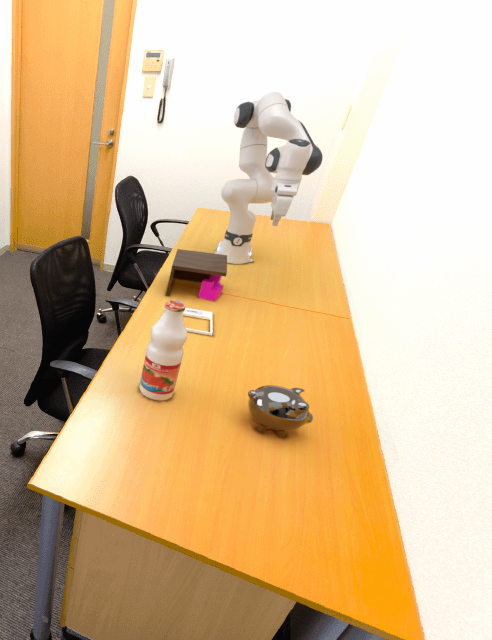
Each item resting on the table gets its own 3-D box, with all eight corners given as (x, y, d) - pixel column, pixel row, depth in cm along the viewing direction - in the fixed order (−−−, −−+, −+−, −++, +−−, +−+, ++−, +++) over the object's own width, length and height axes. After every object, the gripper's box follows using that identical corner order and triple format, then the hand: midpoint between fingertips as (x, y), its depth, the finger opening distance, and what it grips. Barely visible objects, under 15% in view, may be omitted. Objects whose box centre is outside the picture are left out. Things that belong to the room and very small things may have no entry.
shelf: (171, 277, 197) (177, 248, 190) (219, 284, 190) (227, 255, 183) (165, 295, 179) (172, 265, 173) (218, 304, 172) (226, 273, 165)
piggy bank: (308, 449, 103) (326, 412, 97) (239, 432, 108) (252, 396, 102) (300, 420, 112) (317, 385, 106) (237, 406, 117) (249, 371, 111)
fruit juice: (178, 391, 123) (202, 304, 109) (162, 406, 117) (184, 315, 103) (149, 377, 129) (167, 293, 114) (132, 390, 123) (149, 303, 109)
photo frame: (212, 311, 164) (212, 332, 149) (211, 314, 164) (211, 335, 150) (172, 305, 169) (168, 325, 154) (171, 307, 169) (168, 327, 155)
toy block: (214, 301, 175) (218, 284, 171) (198, 297, 178) (202, 280, 174) (224, 289, 185) (228, 273, 181) (209, 286, 188) (213, 270, 184)
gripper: (273, 181, 172) (263, 215, 179) (278, 190, 156) (266, 228, 163) (291, 182, 170) (280, 217, 177) (298, 192, 154) (285, 230, 161)
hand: (273, 222), depth 170 cm, fingers open, 8 cm apart
